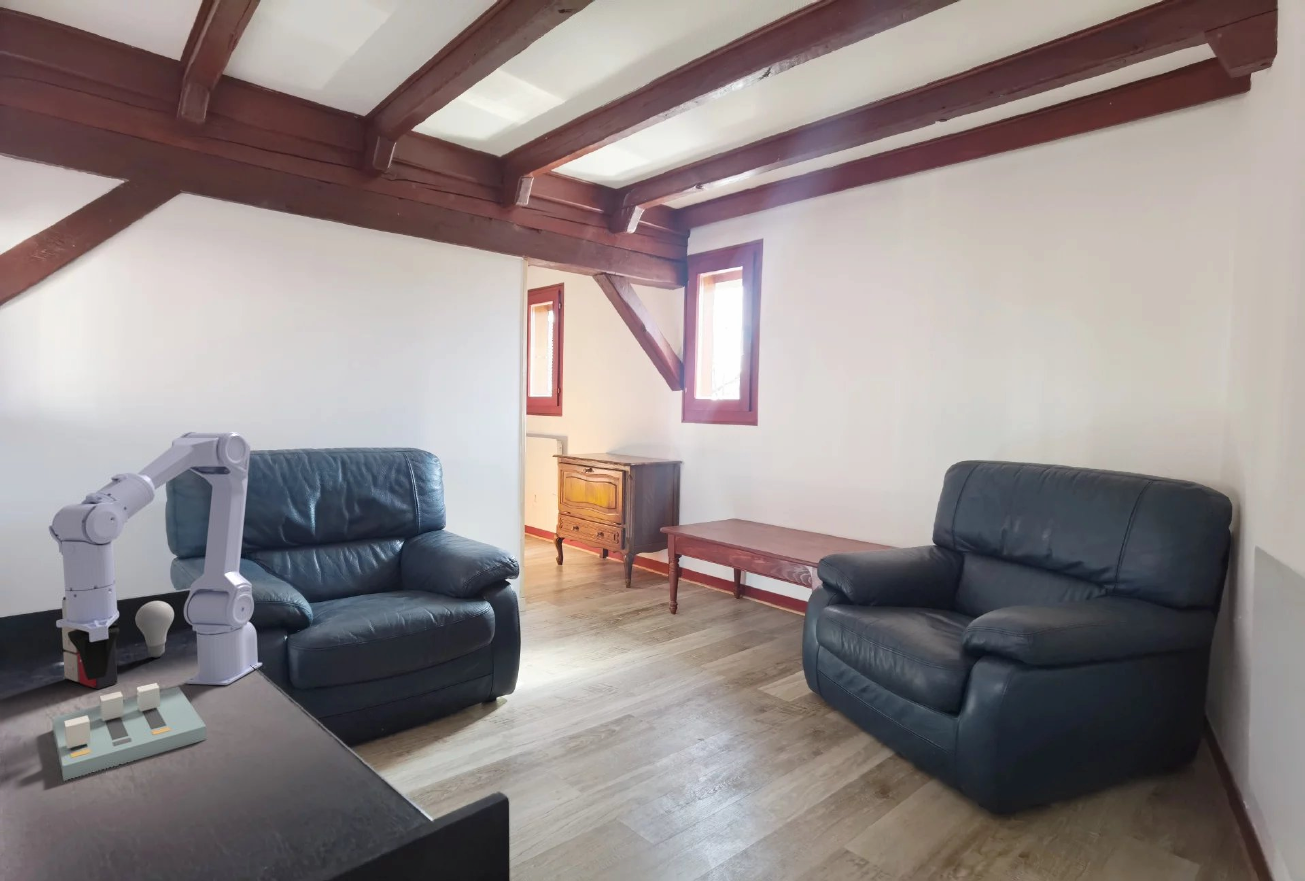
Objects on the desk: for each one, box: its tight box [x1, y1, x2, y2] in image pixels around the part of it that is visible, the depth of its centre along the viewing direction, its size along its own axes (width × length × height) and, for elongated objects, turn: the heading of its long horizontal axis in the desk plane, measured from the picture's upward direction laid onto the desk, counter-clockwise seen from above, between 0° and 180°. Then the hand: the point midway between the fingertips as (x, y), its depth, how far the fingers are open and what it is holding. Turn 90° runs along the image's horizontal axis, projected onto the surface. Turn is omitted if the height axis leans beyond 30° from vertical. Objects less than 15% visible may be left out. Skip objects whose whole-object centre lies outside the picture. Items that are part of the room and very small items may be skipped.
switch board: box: [51, 686, 208, 782], centre depth 103 cm, size 20×16×2 cm
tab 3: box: [136, 682, 160, 712], centre depth 107 cm, size 2×2×3 cm
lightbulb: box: [135, 600, 175, 658], centre depth 135 cm, size 6×6×11 cm
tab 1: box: [64, 715, 91, 749], centre depth 96 cm, size 2×2×3 cm
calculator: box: [61, 596, 119, 690], centre depth 123 cm, size 11×4×15 cm, turn 62°
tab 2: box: [99, 690, 124, 721], centre depth 104 cm, size 2×2×3 cm
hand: (96, 677), depth 102 cm, fingers closed
